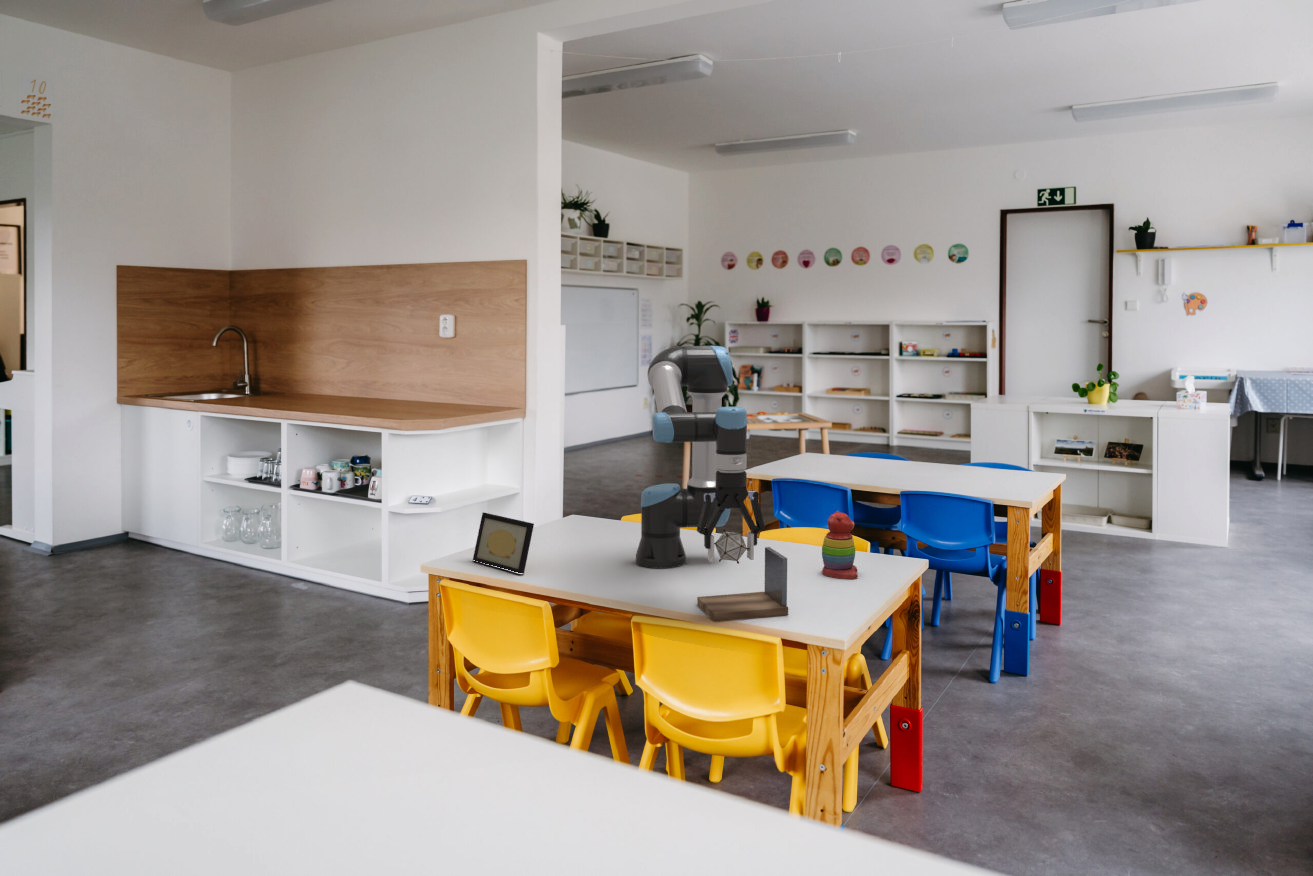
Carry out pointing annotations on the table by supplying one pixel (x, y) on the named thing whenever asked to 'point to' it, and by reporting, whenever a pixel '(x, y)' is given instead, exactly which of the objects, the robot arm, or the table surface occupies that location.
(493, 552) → the picture frame
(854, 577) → the stacking bear
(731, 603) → the shelf plank
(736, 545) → the game die
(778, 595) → the bookend
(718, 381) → the robot arm
